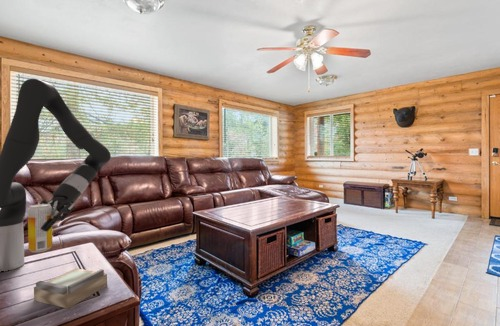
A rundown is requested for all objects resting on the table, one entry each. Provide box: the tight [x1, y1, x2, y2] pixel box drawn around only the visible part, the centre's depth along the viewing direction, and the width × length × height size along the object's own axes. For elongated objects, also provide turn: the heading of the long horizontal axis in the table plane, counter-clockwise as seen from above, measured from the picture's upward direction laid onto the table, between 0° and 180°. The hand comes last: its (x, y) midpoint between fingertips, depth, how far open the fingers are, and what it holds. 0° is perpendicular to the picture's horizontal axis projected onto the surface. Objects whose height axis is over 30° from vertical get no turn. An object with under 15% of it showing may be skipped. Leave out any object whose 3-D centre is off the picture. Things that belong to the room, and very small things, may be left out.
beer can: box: [27, 203, 54, 254], centre depth 81 cm, size 6×6×15 cm
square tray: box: [33, 267, 108, 310], centre depth 77 cm, size 14×13×6 cm
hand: (36, 229), depth 80 cm, fingers closed on beer can, 6 cm apart
